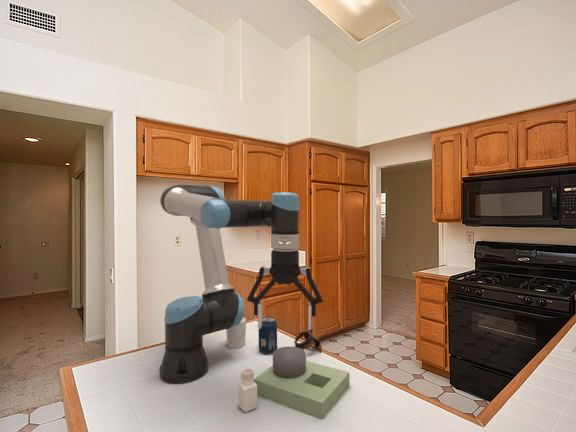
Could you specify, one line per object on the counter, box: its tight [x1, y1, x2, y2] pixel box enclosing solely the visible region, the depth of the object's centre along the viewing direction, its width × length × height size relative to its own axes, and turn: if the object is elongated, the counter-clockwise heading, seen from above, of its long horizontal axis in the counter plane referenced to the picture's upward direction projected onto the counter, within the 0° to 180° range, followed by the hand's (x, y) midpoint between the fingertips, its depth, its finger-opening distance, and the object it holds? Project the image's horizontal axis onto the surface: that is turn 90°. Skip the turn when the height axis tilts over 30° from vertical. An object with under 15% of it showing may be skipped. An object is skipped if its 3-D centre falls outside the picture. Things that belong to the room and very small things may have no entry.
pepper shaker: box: [237, 368, 258, 413], centre depth 83 cm, size 4×4×10 cm
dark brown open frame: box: [293, 329, 323, 353], centre depth 119 cm, size 12×10×8 cm
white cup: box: [225, 316, 247, 349], centre depth 124 cm, size 8×8×10 cm
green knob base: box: [253, 346, 350, 420], centre depth 92 cm, size 22×18×9 cm
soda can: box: [258, 316, 278, 355], centre depth 118 cm, size 7×7×12 cm
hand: (284, 327), depth 86 cm, fingers open, 13 cm apart
